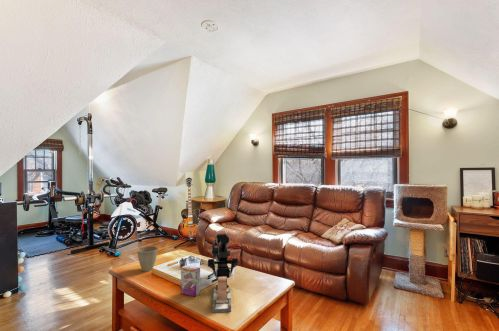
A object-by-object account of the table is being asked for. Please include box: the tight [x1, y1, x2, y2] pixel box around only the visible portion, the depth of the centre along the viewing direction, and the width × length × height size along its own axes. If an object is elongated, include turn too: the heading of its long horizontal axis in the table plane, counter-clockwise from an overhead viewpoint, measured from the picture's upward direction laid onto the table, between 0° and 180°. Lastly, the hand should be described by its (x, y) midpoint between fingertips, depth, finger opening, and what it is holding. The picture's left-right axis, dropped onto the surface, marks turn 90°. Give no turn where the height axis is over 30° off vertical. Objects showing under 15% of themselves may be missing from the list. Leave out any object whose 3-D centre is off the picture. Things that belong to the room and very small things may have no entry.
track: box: [212, 288, 232, 313], centre depth 149 cm, size 20×10×4 cm, turn 5°
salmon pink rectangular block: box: [216, 277, 228, 303], centre depth 149 cm, size 7×7×12 cm
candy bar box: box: [180, 264, 201, 297], centre depth 159 cm, size 11×5×16 cm, turn 71°
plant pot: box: [137, 245, 159, 272], centre depth 197 cm, size 15×15×16 cm
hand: (223, 276), depth 155 cm, fingers open, 9 cm apart
